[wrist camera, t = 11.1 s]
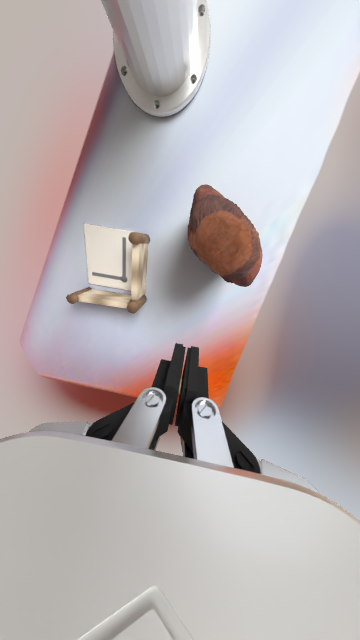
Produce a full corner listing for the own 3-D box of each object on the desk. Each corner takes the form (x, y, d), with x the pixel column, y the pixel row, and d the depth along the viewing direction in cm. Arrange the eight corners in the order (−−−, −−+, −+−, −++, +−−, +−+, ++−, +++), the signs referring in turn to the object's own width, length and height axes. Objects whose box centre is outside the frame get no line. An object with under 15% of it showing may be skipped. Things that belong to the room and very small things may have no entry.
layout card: (84, 223, 33) (83, 223, 32) (135, 231, 32) (134, 231, 32) (89, 282, 37) (88, 283, 37) (133, 290, 37) (132, 291, 37)
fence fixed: (140, 233, 32) (127, 231, 27) (150, 234, 32) (140, 233, 27) (137, 302, 38) (126, 312, 33) (146, 303, 38) (137, 313, 32)
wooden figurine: (179, 234, 31) (155, 224, 15) (204, 203, 29) (208, 152, 13) (222, 279, 34) (241, 312, 18) (248, 254, 32) (299, 266, 15)
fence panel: (136, 294, 37) (124, 303, 32) (136, 302, 38) (125, 311, 32) (85, 286, 38) (65, 294, 32) (86, 294, 38) (67, 303, 33)
